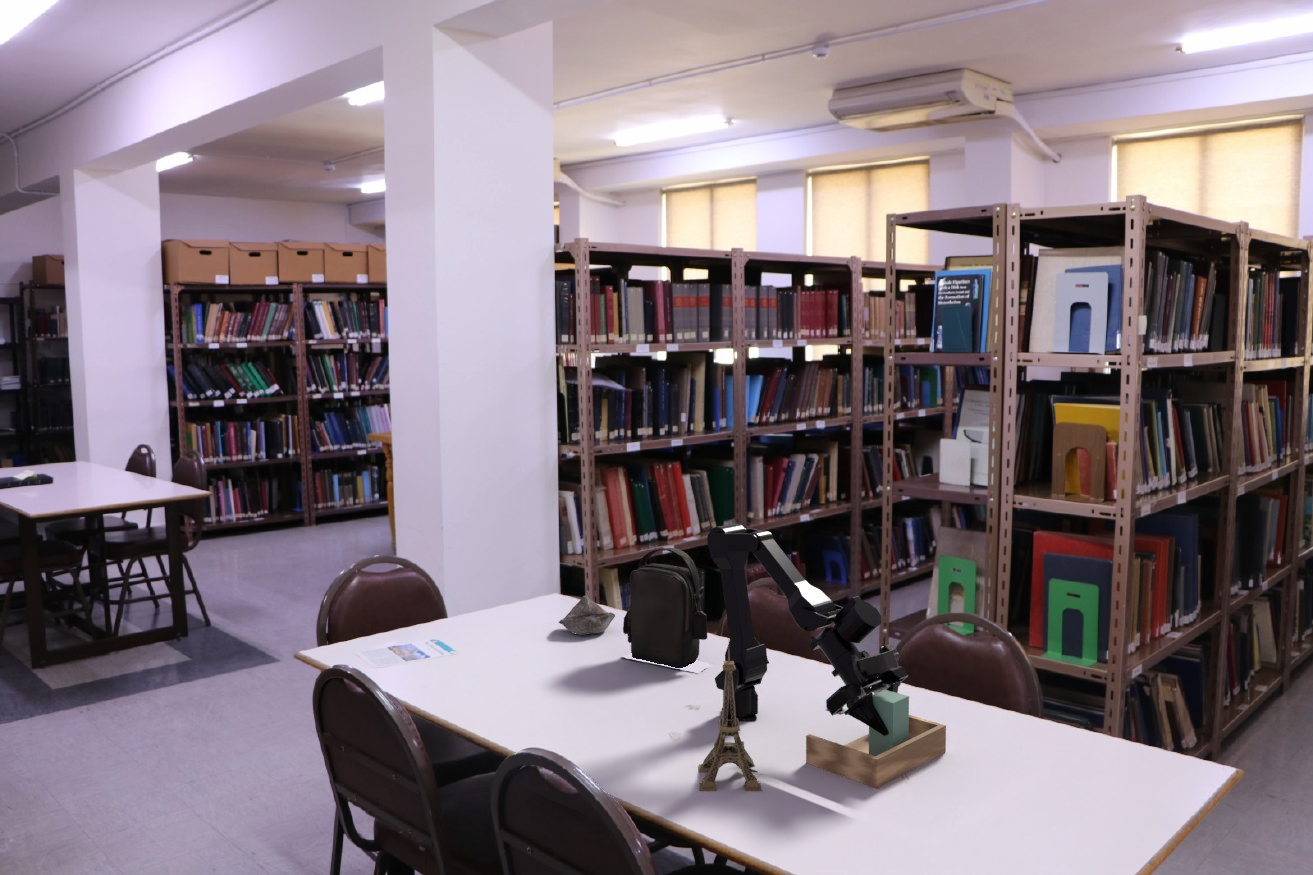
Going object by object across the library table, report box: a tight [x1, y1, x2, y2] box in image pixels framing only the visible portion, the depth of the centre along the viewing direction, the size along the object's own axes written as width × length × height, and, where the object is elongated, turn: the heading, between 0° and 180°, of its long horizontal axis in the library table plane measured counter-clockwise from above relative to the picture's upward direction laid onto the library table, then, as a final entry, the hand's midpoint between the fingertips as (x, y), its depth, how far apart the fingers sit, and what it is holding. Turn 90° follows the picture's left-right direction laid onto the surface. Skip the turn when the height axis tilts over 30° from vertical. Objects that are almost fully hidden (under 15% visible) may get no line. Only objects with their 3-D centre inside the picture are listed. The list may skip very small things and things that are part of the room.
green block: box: [868, 690, 910, 756], centre depth 179 cm, size 5×5×12 cm
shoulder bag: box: [622, 546, 708, 668], centre depth 242 cm, size 23×9×28 cm, turn 57°
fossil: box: [558, 595, 616, 635], centre depth 269 cm, size 15×14×10 cm
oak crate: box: [805, 714, 947, 789], centre depth 181 cm, size 15×22×6 cm
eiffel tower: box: [698, 650, 763, 792], centre depth 174 cm, size 11×11×25 cm
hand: (895, 730), depth 178 cm, fingers closed on green block, 5 cm apart
